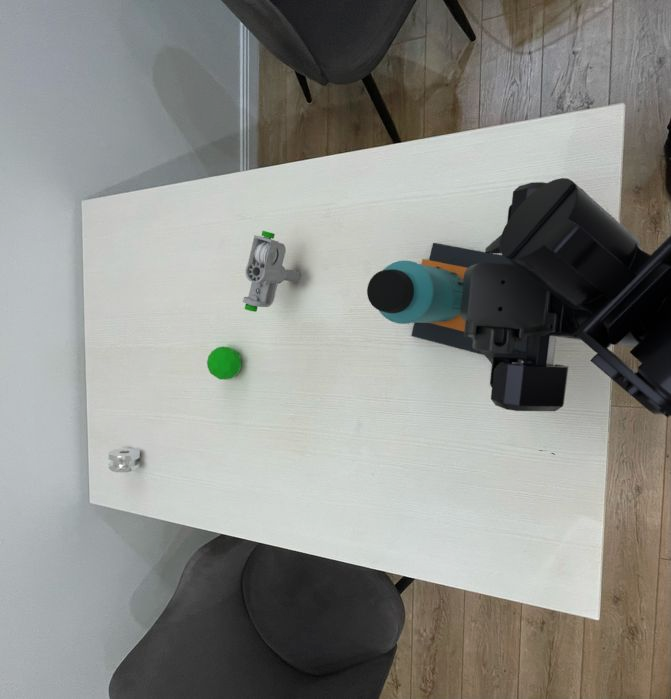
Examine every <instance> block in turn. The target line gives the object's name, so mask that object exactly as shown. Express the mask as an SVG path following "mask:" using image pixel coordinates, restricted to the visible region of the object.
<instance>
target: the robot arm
mask: <svg viewBox="0 0 671 699" xmlns="http://www.w3.org/2000/svg"><path fill="white" fill-rule="evenodd" d="M506 221H507V222H506V225H505V226H504V227H503V230H502V232H501V234H500V235H499V236H497V238H496V239H495V240H493V241H492V242H491V243H490V244H489V245H487V247H485V249H484V250H485V251H484V252H486V253H492V254H500V255H503V256H504V257H505V258H507V259H508V260H509V261H511V262H512V263H513V264H505V263H492V262H482V263H479V264H475V265H472V266H470V267H468V268H467V269H466V271H465V273H464V278H463V293H462V303H461V308H460V315H461V318H462V319H463V320H464V321H465V329H464V337H468V338H472V339H473V344H472V347H473V349H475V350H479V351H481V352H482V353H483V354H484V355H483V356H484V357H485V358H486V359H487V360H488V362H489V363H490V364H491V367H490V368H491V369H490V377H489V385H490V387H491V393H490V400H491V402H492V403H493V404H494V405H495V406H496V407H499V408H502V409H505V410H509V411H515V412H556V411H558V410H560V409H561V408H563V407H564V405H565V398H566V391H567V383H568V382H567V381H568V374H569V366H568V365H564V364H554V358H555V350H556V343H557V342H556V341H557V338H562V339H563V338H564V339H571V340H577V341H578V340H579V341H582V342H583V343H584V344H585V345H587V347H588V348H590V349H592V350H593V351H594V352H595V353H596V354H595V355H594V356H593V357H592V358H591V359H590V362H591V363H592V364H594V365H595V366H596V367H597V369H599V370H600V371H602V372H603V373H604V374H605V375H606V376H608V377H609V378H610V379H611V380H612V381H614V382H615V383H616V384H617V385H618V386H620V388H622V389H623V390H624V391H625V392H627V393H628V394H629V395H630V396H631V397H632V398H634V399H635V401H636V402H638V403H639V404H641V405H642V406H643V407H644V408H645V409H647V410H648V411H649V412H650V413H652V414H653V415H663V416H665V417H666V418H670V417H671V234H670V235H669V236H667V238H666V239H665V240H664V241H662V243H661V244H660V245H659V246H658V247H657V248H656V249H655V250H654V251H653V252H652V253H651V254H649V253H648V252H646V251H644V250H643V248H642V244H641V243H640V241H639V239H638V238H637V237H636V236H635V235H634V234H633V233H632V232H630V231H629V230H628V229H627V228H626V227H624V226H623V225H622V224H621V223H620V221H618V220H617V219H616V218H615V217H613V216H612V215H611V214H610V213H609V212H608V211H607V210H606V209H605V208H603V206H601V205H600V204H599V203H598V202H596V200H594V199H593V198H592V197H591V196H590V195H589V194H588V193H587V192H586V191H585V190H584V189H582V188H581V187H580V186H579V185H577V184H576V183H575V182H574V181H573V180H572V179H570V178H568V177H567V178H565V177H561V178H556V179H553V180H551V181H548V182H544V181H542V182H541V181H540V182H539V181H537V182H536V181H535V182H534V181H533V182H528V183H524V184H521V185H518V187H517V188H515V189H514V190H513V191H512V198H511V204H510V205H509V207H508V209H507V220H506ZM524 335H526V336H527V340H526V349H525V352H523V351H520V350H517V349H513V346H514V343H515V342H523V338H524ZM612 345H613V346H622V347H629V348H631V350H630V351H629V353H630V354H631V355H632V356H633V357H634V358H635V359H637V361H639V362H640V363H641V364H640V365H639V366H637V370H635V369H633V368H632V367H631V366H630V365H629V364H627V363H626V362H625V361H624V360H622V358H620V357H619V356H617V354H616V353H614V352H612V351H611V350H610V349H609V348H610V346H612Z"/></svg>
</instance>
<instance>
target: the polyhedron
mask: <svg viewBox="0 0 671 699" xmlns="http://www.w3.org/2000/svg"><path fill="white" fill-rule="evenodd" d="M206 365H207V369H208V372H209V373H210V375H212V376H213V377H215V378H217V379H218V380H232V379H233V378H234V377H235V376H236V375H237V376H238V373H239V372H240V371H241V367H242V359H241V356H240V354H239V352H238V351H236V350H235V349H233V348H232V347H230V346H219V347H216V348H215V349H213V350H212V351H211V352H210V353H209V355H208V356H207V360H206Z"/></svg>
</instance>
